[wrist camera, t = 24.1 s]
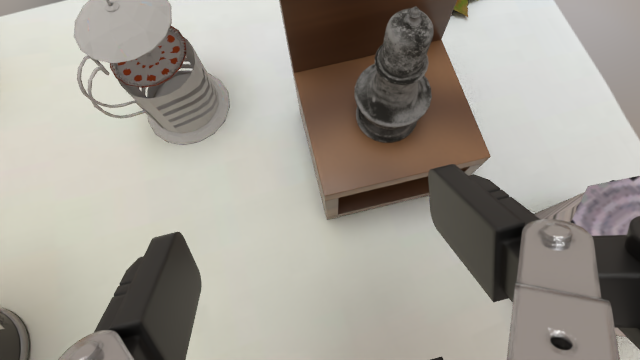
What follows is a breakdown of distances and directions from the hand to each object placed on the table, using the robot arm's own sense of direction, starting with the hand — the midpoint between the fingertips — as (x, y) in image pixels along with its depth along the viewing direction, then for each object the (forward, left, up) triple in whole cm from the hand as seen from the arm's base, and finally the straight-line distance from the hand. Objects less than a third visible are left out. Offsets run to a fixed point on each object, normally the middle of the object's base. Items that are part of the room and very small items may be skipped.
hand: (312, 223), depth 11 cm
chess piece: (+14, -1, -17) cm, 22 cm away
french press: (+13, +22, -26) cm, 36 cm away
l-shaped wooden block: (+14, -1, -25) cm, 29 cm away
